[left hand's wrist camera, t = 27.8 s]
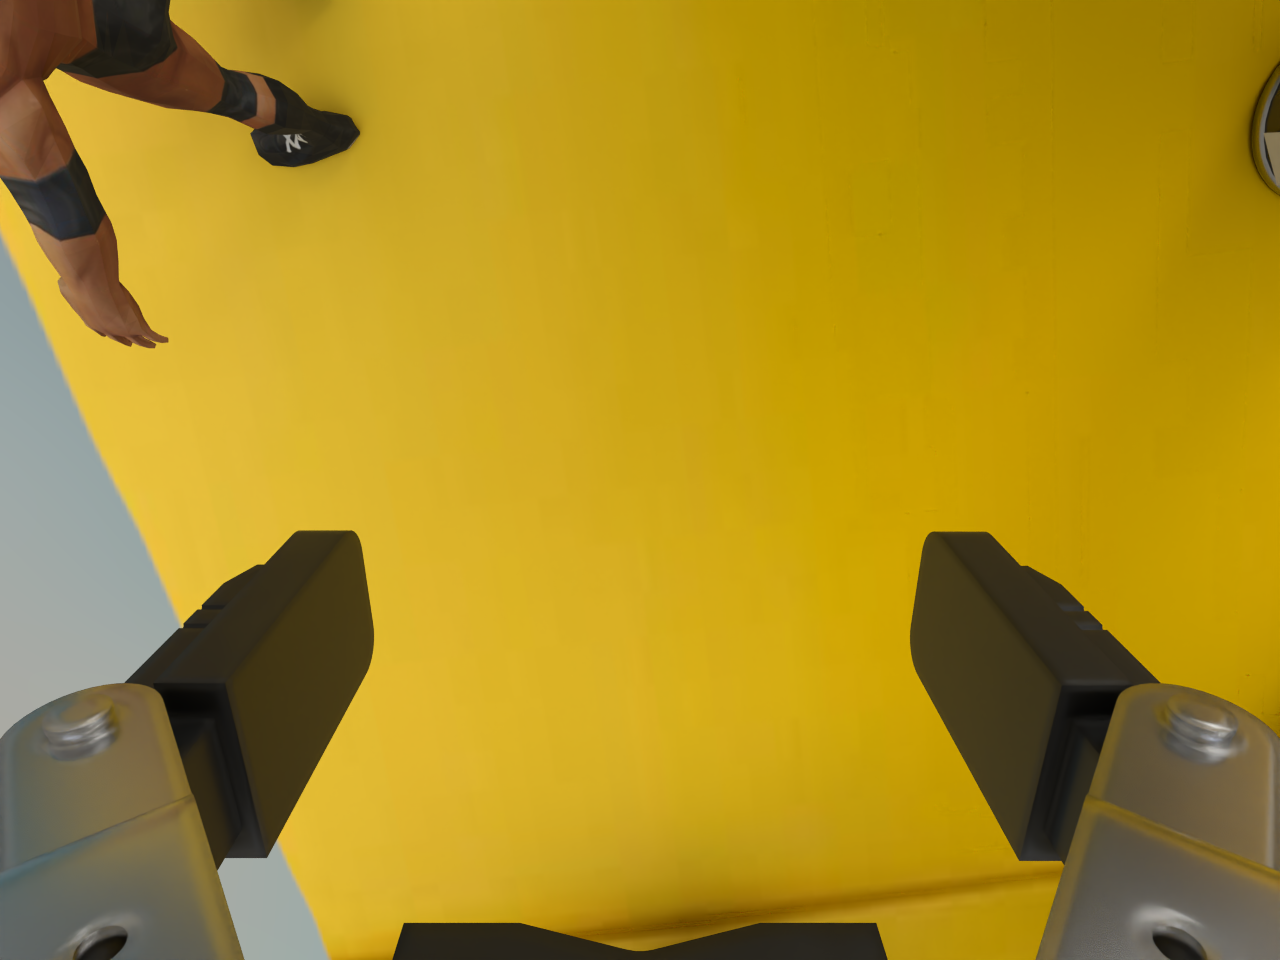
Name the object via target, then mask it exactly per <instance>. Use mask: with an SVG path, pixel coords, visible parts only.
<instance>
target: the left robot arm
mask: <svg viewBox="0 0 1280 960" xmlns="http://www.w3.org/2000/svg"><path fill="white" fill-rule="evenodd" d="M1251 141H1252V152H1253V157H1254V161H1255V165H1256V167H1257V169H1258V172H1259V174H1260V175H1261V177H1262V179H1263V180H1264V181H1265V183H1266V184H1267V185H1268V186H1269V187H1270V188H1271V189H1272V190H1273V191H1274V192H1276V193H1277V194H1278V195H1280V64H1279V66H1278V67H1277V68H1276V70H1275V71H1274V73H1273V74H1272V76H1271V77H1270V79H1269V81H1268V82H1267V84H1266V86H1265V88H1264V90H1263V92H1262V94H1261V97H1260V99H1259V102H1258V105H1257V108H1256V111H1255V115H1254V120H1253V126H1252V138H1251ZM373 645H374V628H373V620H372V613H371V607H370V600H369V593H368V587H367V580H366V573H365V566H364V560H363V553H362V547H361V543H360V540H359V538H358V536H357V534H356V533H355V532H354V531H297V532H295V533H294V534H293V535H292V536H291V537H290V538H289V539H288V540H287V541H286V542H285V543H284V544H283V546H282V547H281V548H280V549H279V550H278V551H277V552H276V553H275V554H274V555H273V556H272V557H271V558H270V559H269V560H268V561H267V562H266V564H265V565H256V566H254V567H252V568H250V569H249V570H247V571H245V572H243V573H241V574H240V575H238V576H236V577H234V578H232V579H231V580H229V581H227V582H225V583H224V584H223V585H222V586H221V587H220V588H219V589H218V590H217V591H216V592H215V593H214V594H213V595H212V596H211V597H210V598H209V599H208V600H207V601H206V602H205V603H204V604H203V605H202V609H201V610H197V611H196V612H195V613H194V614H193V615H192V616H191V617H190V618H189V619H188V620H187V621H186V622H185V623H184V627H183V628H179V629H178V630H177V631H176V632H175V633H174V634H173V635H172V636H171V637H170V638H169V639H168V640H167V641H166V642H165V643H164V644H163V645H162V646H161V647H160V648H159V649H158V650H157V651H156V652H155V653H154V654H153V655H152V656H151V657H150V658H149V659H148V660H147V661H146V662H145V663H144V664H143V665H142V666H141V667H140V668H139V669H138V670H137V671H136V672H135V673H134V674H133V675H132V676H131V677H130V678H129V679H128V680H127V681H126V682H125V683H117V684H108V685H102V686H97V687H92V688H88V689H84V690H81V691H77V692H75V693H71V694H69V695H66V696H63V697H61V698H58V699H56V700H54V701H51V702H49V703H47V704H45V705H44V706H42V707H40V708H38V709H36V710H34V711H33V712H31V713H29V714H28V715H26V716H25V717H23V718H22V719H21V720H19V721H18V722H17V723H15V724H14V725H13V726H12V727H11V728H10V729H9V730H8V731H7V732H6V733H5V734H4V735H3V736H2V738H1V739H0V960H244V957H243V954H242V950H241V947H240V944H239V941H238V937H237V934H236V931H235V928H234V924H233V921H232V918H231V915H230V911H229V908H228V905H227V901H226V898H225V895H224V892H223V888H222V885H221V882H220V879H219V875H218V872H217V870H218V869H219V867H220V865H221V864H222V862H223V860H224V859H225V858H267V857H268V855H269V853H270V851H271V849H272V848H273V846H274V844H275V842H276V840H277V838H278V836H279V835H280V833H281V831H282V829H283V827H284V825H285V823H286V822H287V820H288V818H289V816H290V814H291V812H292V810H293V809H294V807H295V805H296V803H297V801H298V799H299V797H300V796H301V794H302V792H303V790H304V788H305V786H306V784H307V783H308V781H309V779H310V777H311V775H312V773H313V771H314V770H315V768H316V766H317V764H318V762H319V760H320V759H321V757H322V755H323V753H324V751H325V749H326V747H327V746H328V744H329V742H330V740H331V738H332V736H333V734H334V733H335V731H336V729H337V727H338V725H339V723H340V721H341V720H342V718H343V716H344V714H345V712H346V710H347V708H348V707H349V705H350V703H351V701H352V699H353V697H354V695H355V694H356V692H357V690H358V688H359V686H360V684H361V683H362V681H363V679H364V677H365V675H366V673H367V671H368V669H369V666H370V663H371V659H372V654H373ZM910 646H911V655H912V660H913V664H914V667H915V670H916V672H917V674H918V676H919V678H920V680H921V682H922V684H923V685H924V687H925V689H926V691H927V693H928V695H929V696H930V698H931V700H932V702H933V704H934V706H935V707H936V709H937V711H938V713H939V715H940V717H941V718H942V720H943V722H944V724H945V726H946V728H947V729H948V731H949V733H950V735H951V737H952V739H953V740H954V742H955V744H956V746H957V748H958V749H959V751H960V753H961V755H962V757H963V759H964V760H965V762H966V764H967V766H968V768H969V770H970V771H971V773H972V775H973V777H974V779H975V781H976V782H977V784H978V786H979V788H980V790H981V792H982V793H983V795H984V797H985V799H986V801H987V803H988V804H989V806H990V808H991V810H992V812H993V814H994V815H995V817H996V819H997V821H998V823H999V825H1000V826H1001V828H1002V830H1003V832H1004V834H1005V836H1006V837H1007V839H1008V841H1009V843H1010V845H1011V847H1012V848H1013V850H1014V852H1015V854H1016V856H1017V858H1018V859H1019V861H1062V862H1063V864H1064V865H1065V866H1064V869H1063V872H1062V875H1061V879H1060V882H1059V885H1058V888H1057V892H1056V895H1055V898H1054V901H1053V905H1052V908H1051V911H1050V915H1049V918H1048V921H1047V924H1046V928H1045V931H1044V934H1043V937H1042V941H1041V944H1040V947H1039V950H1038V954H1037V957H1036V960H1280V739H1279V738H1278V736H1277V735H1276V734H1275V733H1274V732H1273V731H1272V730H1271V729H1270V728H1269V727H1268V726H1267V725H1266V724H1265V723H1263V722H1262V721H1261V720H1259V719H1258V718H1257V717H1255V716H1254V715H1252V714H1251V713H1249V712H1247V711H1246V710H1244V709H1242V708H1240V707H1238V706H1237V705H1235V704H1233V703H1231V702H1229V701H1226V700H1224V699H1222V698H1219V697H1217V696H1214V695H1211V694H1209V693H1206V692H1203V691H1199V690H1196V689H1192V688H1188V687H1183V686H1178V685H1172V684H1163V683H1160V682H1159V681H1158V680H1157V679H1156V678H1155V677H1154V676H1153V675H1152V674H1151V673H1150V672H1149V671H1148V670H1147V669H1146V668H1145V667H1144V666H1143V665H1142V664H1141V663H1140V662H1139V661H1138V660H1137V659H1136V658H1135V657H1134V656H1133V655H1132V654H1131V653H1130V652H1129V651H1128V650H1127V649H1126V648H1125V647H1124V646H1123V645H1122V644H1121V643H1120V642H1119V641H1118V640H1117V639H1116V638H1115V637H1114V636H1113V635H1112V634H1111V633H1110V632H1109V631H1108V630H1103V629H1102V624H1101V623H1100V622H1099V621H1098V620H1096V619H1095V618H1094V617H1093V616H1092V615H1091V614H1090V613H1089V612H1088V611H1084V607H1083V606H1082V605H1081V604H1080V603H1079V602H1078V601H1077V600H1076V599H1075V598H1074V597H1073V596H1072V595H1071V594H1070V593H1069V592H1068V591H1067V590H1066V589H1065V588H1064V587H1063V586H1062V585H1061V584H1059V583H1057V582H1056V581H1054V580H1052V579H1050V578H1048V577H1047V576H1045V575H1043V574H1041V573H1039V572H1038V571H1036V570H1034V569H1032V568H1030V567H1028V566H1020V565H1019V564H1018V563H1017V562H1016V560H1015V559H1014V558H1013V557H1012V556H1011V555H1010V554H1009V553H1008V552H1007V551H1006V550H1005V549H1004V548H1003V547H1002V546H1001V545H1000V544H999V543H998V542H997V541H996V539H995V538H994V537H993V536H992V535H991V534H989V533H988V532H931V533H930V534H929V535H928V536H927V537H926V540H925V542H924V545H923V550H922V556H921V562H920V569H919V576H918V582H917V589H916V596H915V602H914V609H913V615H912V622H911V630H910ZM393 960H887V956H886V953H885V950H884V947H883V943H882V940H881V937H880V934H879V931H878V927H877V924H876V923H758V924H754V925H750V926H746V927H742V928H738V929H734V930H730V931H726V932H722V933H718V934H714V935H710V936H706V937H702V938H698V939H694V940H690V941H686V942H682V943H678V944H674V945H670V946H666V947H662V948H658V949H655V950H649V951H631V950H625V949H622V948H618V947H614V946H610V945H606V944H602V943H598V942H594V941H590V940H586V939H582V938H578V937H574V936H570V935H566V934H562V933H558V932H554V931H550V930H546V929H542V928H538V927H534V926H530V925H526V924H522V923H404V924H403V927H402V931H401V934H400V937H399V940H398V943H397V947H396V950H395V953H394V956H393Z"/></svg>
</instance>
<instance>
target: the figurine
mask: <svg viewBox="0 0 1280 960" xmlns="http://www.w3.org/2000/svg"><path fill="white" fill-rule="evenodd" d="M169 5H170V0H0V178H1V179H2V181H3V182H4V184H5V185H6V186H7V188H8V189H9V191H10V192H11V194H12V195H13V197H14V199H15V200H16V202H17V203H18V205H19V207H20V208H21V210H22V211H23V213H24V215H25V216H26V218H27V220H28V222H29V224H30V225H31V227H32V230H33V232H34V235H35V237H36V240H37V242H38V243H39V245H40V247H41V248H42V250H43V251H44V253H45V255H46V256H47V258H48V259H49V261H50V262H51V263H52V265H53V266H54V268H55V269H56V270H57V272H58V273H59V275H60V276H61V278H60V279H59V280H58V284H59V288H60V292H61V294H62V295H63V296H64V298H65V299H66V300H67V302H68V303H69V304H70V306H71V307H72V308H73V309H74V311H75V312H76V313H77V314H78V315H79V316H80V317H81V319H82V320H83V321H84V323H85V324H86V326H88V327H89V328H91V329H92V330H94V331H95V332H97V333H98V334H100V335H101V336H104V337H105V336H106V335H107V336H108V337H109V338H111V339H113V340H115V341H118V342H120V343H122V344H124V345H127V346H130V347H131V345H132V343H135V344H137V345H139V346H143V347H147V348H155V346H156V344H155V343H153V342H151V341H150V340H152V341H155V342H160V343H166V342H168V338H167V337H164V336H161V335H159V334H157V333H156V332H154V331H152V330H151V329H150V327H149V326H148V324H147V322H146V321H145V319H144V317H143V315H142V313H141V310H140V308H139V306H138V304H137V303H136V301H135V300H134V298H133V297H132V295H131V294H130V293H129V291H128V290H127V289H126V288H125V287H124V286H123V285H122V284H121V283H120V282H119V271H118V251H117V240H116V236H115V233H114V230H113V227H112V223H111V221H110V219H109V218H108V216H107V214H106V212H105V210H104V208H103V206H102V205H101V203H100V201H99V199H98V197H97V195H96V192H95V190H94V187H93V184H92V182H91V179H90V176H89V174H88V171H87V169H86V167H85V165H84V164H83V162H82V160H81V158H80V156H79V155H78V153H77V151H76V149H75V147H74V145H73V143H72V140H71V138H70V136H69V134H68V131H67V129H66V127H65V125H64V123H63V121H62V119H61V117H60V115H59V113H58V111H57V109H56V107H55V105H54V103H53V101H52V99H51V97H50V95H49V93H48V91H47V89H46V86H45V84H44V82H43V80H45V79H47V78H48V77H49V76H50V74H51V73H52V72H53V71H54V70H55V68H57V69H59V70H61V71H63V72H65V73H66V74H68V75H70V76H71V77H73V78H75V79H77V80H79V81H81V82H83V83H86V84H89V85H92V86H94V87H97V88H100V89H103V90H106V91H109V92H112V93H115V94H119V95H123V96H126V97H130V98H133V99H137V100H140V101H144V102H147V103H151V104H154V105H158V106H161V107H165V108H171V109H182V110H193V111H200V112H207V113H213V114H217V115H221V116H226V117H229V118H232V119H234V120H236V121H238V122H241V123H243V124H245V125H248V126H250V127H252V128H254V130H253V132H252V133H250V134H251V137H252V139H253V142H254V144H255V147H256V149H257V152H258V154H259V155H260V156H261V157H262V158H264V159H265V160H266V161H267V162H269V163H270V164H271V165H274V166H287V167H297V166H302V165H306V164H311V163H314V162H317V161H319V160H322V159H324V158H327V157H329V156H332V155H334V154H337V153H339V152H342V151H345V150H347V149H349V148H350V147H351V145H352V144H353V143H354V141H355V140H356V139H357V137H358V136H359V135H360V131H359V130H358V129H357V127H356V126H355V125H354V123H353V121H352V119H351V118H350V117H349V116H347V115H342V114H337V113H332V112H327V111H319V110H316V109H313V108H311V107H309V106H307V105H306V103H305V102H304V101H303V100H302V99H301V98H300V96H299V95H298V94H297V93H295V92H294V91H292V90H291V89H290V88H288V87H287V86H285V85H284V84H282V83H281V82H279V81H277V80H275V79H272V78H269V77H267V76H264V75H261V74H257V73H250V72H243V71H235V70H227V69H225V68H223V67H221V66H220V65H219V64H218V63H217V62H216V61H215V60H214V59H213V58H212V57H211V56H210V55H209V54H208V53H207V52H206V51H205V50H204V49H203V48H202V47H201V46H200V45H199V44H198V43H197V42H196V41H195V40H194V39H193V38H192V37H191V36H190V35H188V34H187V33H186V32H184V31H183V30H182V29H180V28H179V27H178V26H177V25H175V24H174V23H173V22H172V21H171V20H170V17H169ZM143 336H144V337H146V338H147V339H145V338H144V337H143ZM148 339H149V340H148Z"/></svg>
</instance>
